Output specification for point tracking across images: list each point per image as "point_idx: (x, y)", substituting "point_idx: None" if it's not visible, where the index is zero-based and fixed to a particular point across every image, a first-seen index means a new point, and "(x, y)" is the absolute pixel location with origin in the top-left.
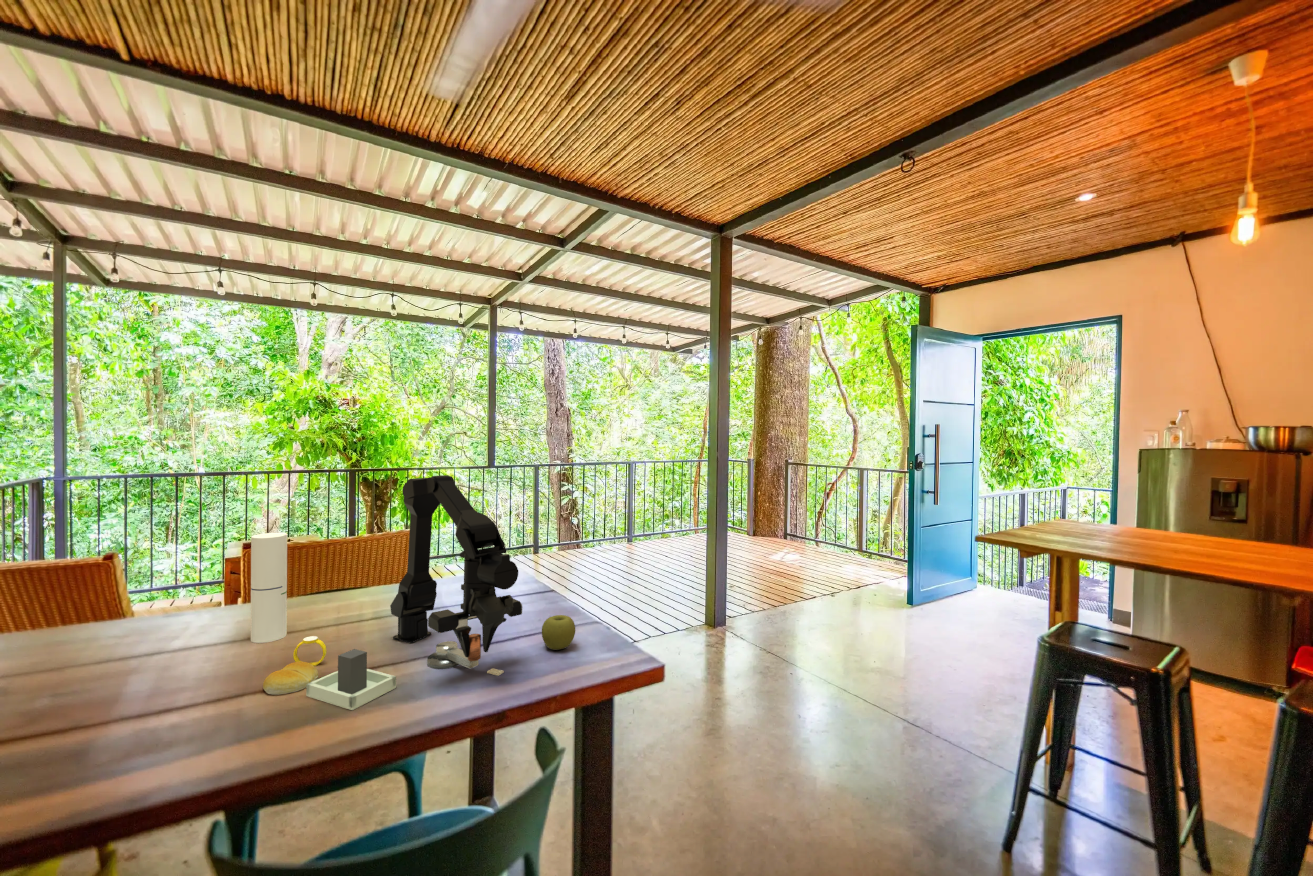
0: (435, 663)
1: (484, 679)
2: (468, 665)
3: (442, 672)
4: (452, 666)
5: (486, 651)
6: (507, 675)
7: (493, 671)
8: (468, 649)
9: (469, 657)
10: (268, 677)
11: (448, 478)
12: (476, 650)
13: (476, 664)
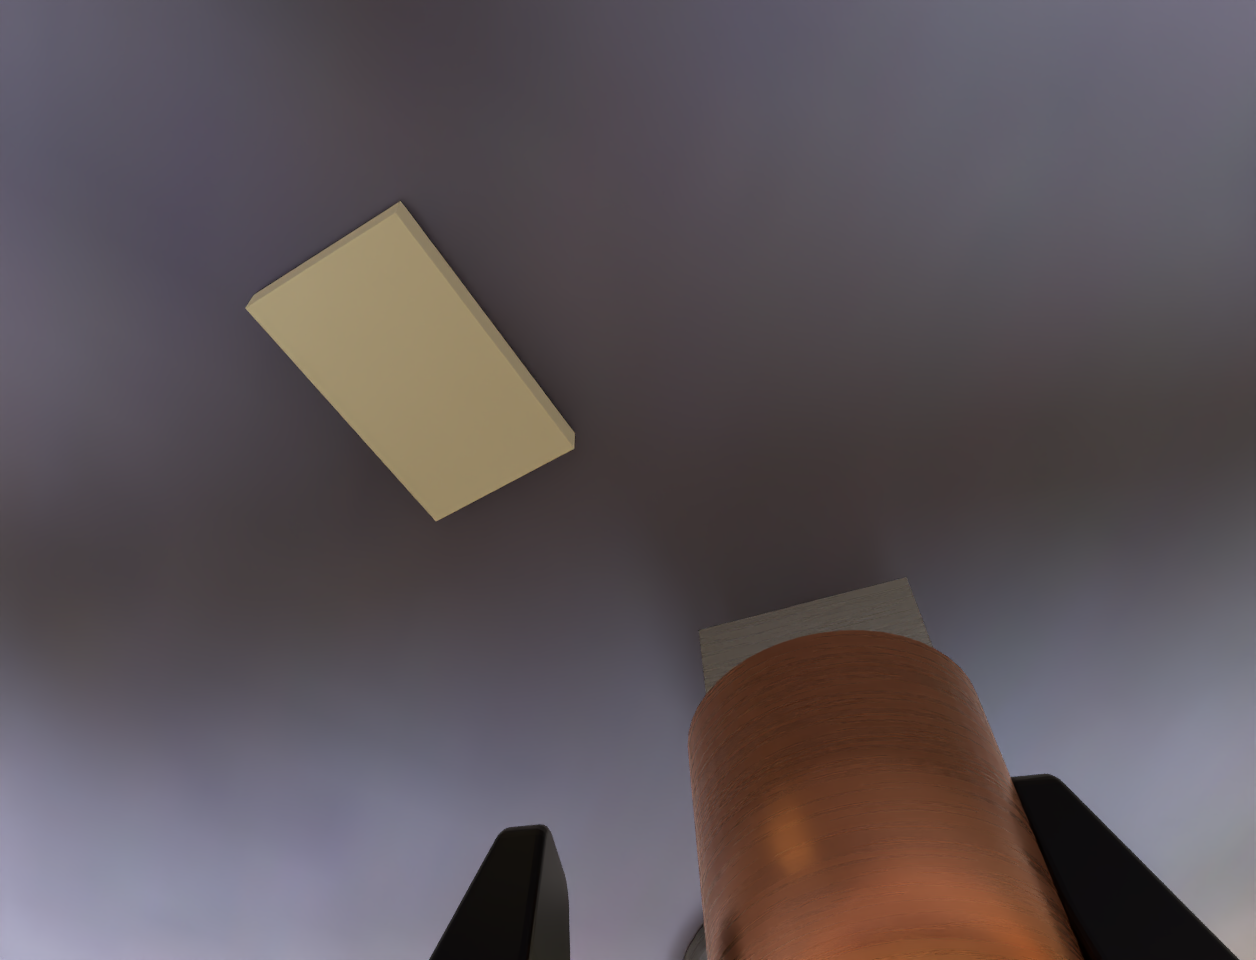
0: None
1: (707, 200)
2: (927, 644)
3: (1133, 764)
4: None
5: (530, 835)
6: (197, 111)
7: (455, 389)
8: (1129, 949)
9: (999, 753)
10: None
11: None
12: (906, 855)
13: (751, 639)
